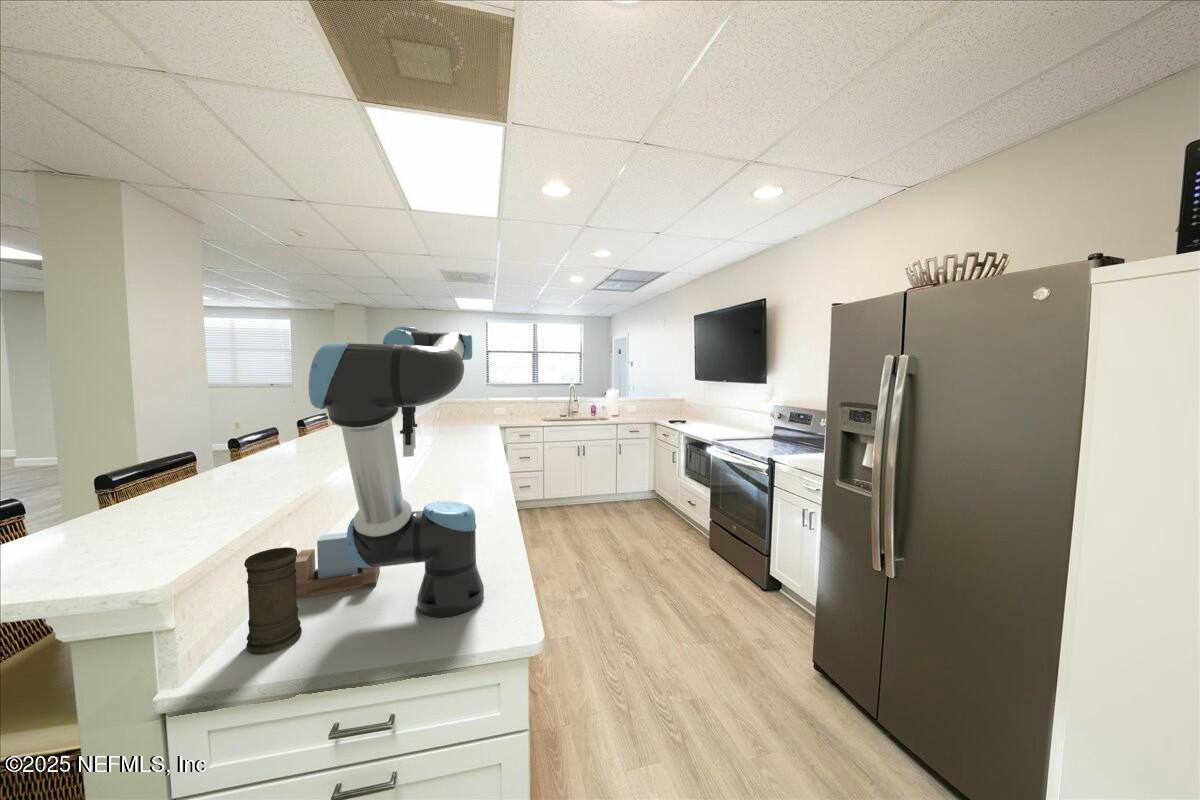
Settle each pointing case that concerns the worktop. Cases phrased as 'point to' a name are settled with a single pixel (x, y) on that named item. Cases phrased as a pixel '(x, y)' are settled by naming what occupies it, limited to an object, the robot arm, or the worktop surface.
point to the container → (272, 601)
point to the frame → (313, 586)
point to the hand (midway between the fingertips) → (409, 452)
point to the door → (334, 556)
